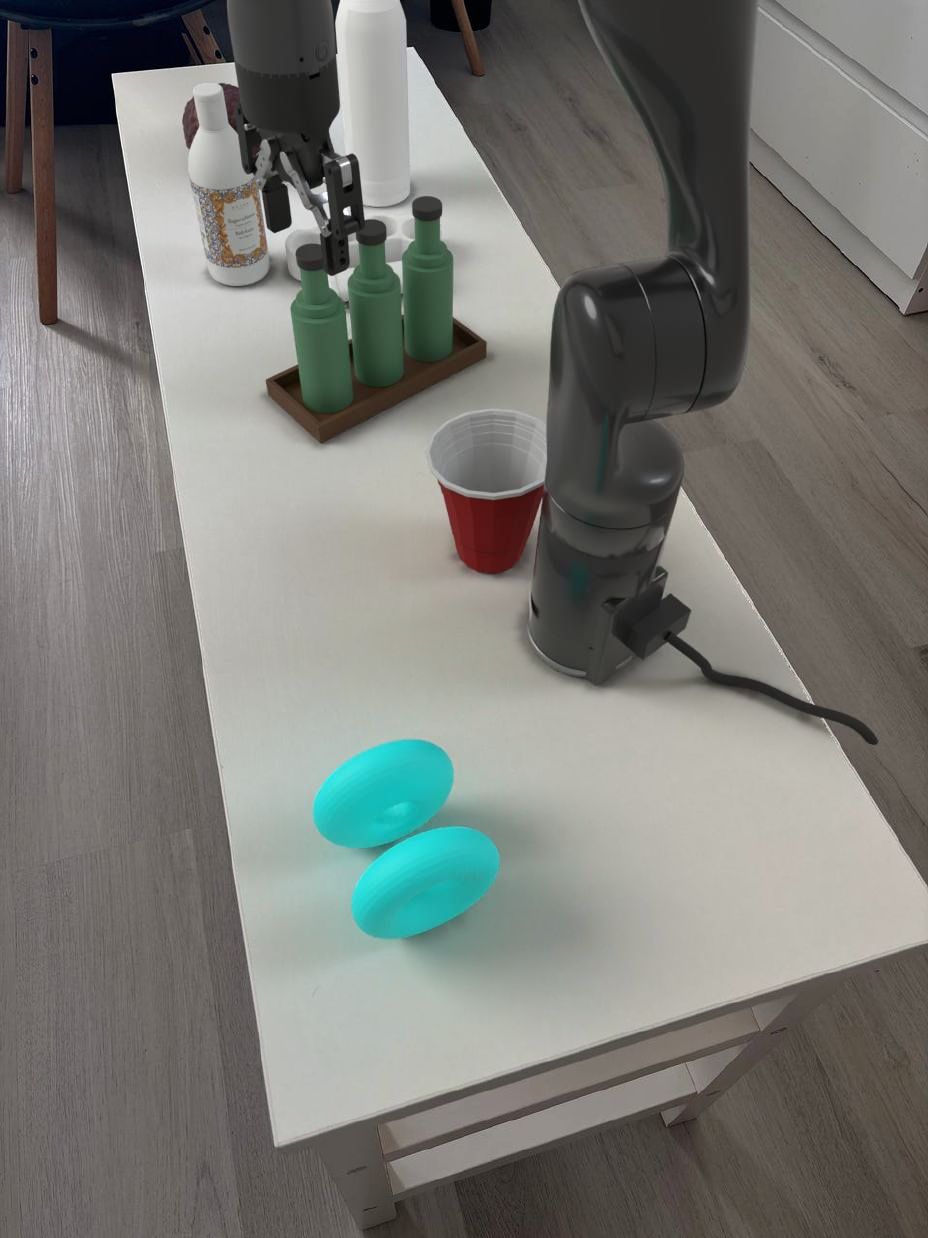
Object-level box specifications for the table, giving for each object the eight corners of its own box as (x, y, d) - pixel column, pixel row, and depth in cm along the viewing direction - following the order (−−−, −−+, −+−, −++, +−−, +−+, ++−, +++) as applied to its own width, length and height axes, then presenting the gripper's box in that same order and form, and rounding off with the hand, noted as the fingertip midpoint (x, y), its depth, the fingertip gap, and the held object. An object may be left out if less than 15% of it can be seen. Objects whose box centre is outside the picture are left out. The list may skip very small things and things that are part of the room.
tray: (486, 357, 103) (487, 341, 101) (320, 443, 94) (318, 427, 93) (431, 316, 107) (431, 300, 106) (267, 395, 98) (265, 379, 97)
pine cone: (169, 134, 131) (192, 57, 126) (241, 166, 135) (266, 92, 131) (175, 162, 117) (202, 76, 113) (255, 197, 122) (283, 115, 117)
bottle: (423, 187, 124) (419, -95, 100) (387, 214, 120) (374, -73, 96) (372, 168, 126) (356, -111, 103) (335, 195, 122) (309, -90, 98)
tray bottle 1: (413, 374, 100) (409, 229, 88) (374, 394, 98) (364, 249, 86) (383, 350, 102) (376, 206, 90) (345, 369, 100) (331, 224, 88)
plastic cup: (487, 487, 91) (492, 383, 82) (574, 549, 86) (590, 447, 77) (400, 546, 86) (395, 444, 77) (488, 616, 82) (494, 516, 72)
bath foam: (225, 295, 109) (189, 111, 93) (199, 264, 112) (160, 82, 96) (281, 276, 111) (255, 94, 95) (254, 247, 115) (224, 66, 99)
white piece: (302, 317, 107) (280, 244, 115) (461, 293, 110) (428, 224, 118) (299, 290, 104) (276, 217, 112) (462, 266, 107) (428, 197, 116)
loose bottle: (363, 399, 98) (351, 254, 85) (321, 420, 96) (303, 275, 83) (333, 375, 100) (318, 229, 87) (293, 394, 98) (271, 249, 85)
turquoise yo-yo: (366, 965, 64) (356, 907, 56) (314, 836, 69) (298, 766, 61) (503, 903, 67) (512, 839, 59) (442, 784, 72) (442, 711, 64)
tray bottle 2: (462, 349, 103) (465, 205, 90) (425, 368, 101) (422, 223, 88) (432, 327, 105) (431, 183, 92) (395, 345, 103) (389, 201, 90)
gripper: (189, 29, 74) (226, 229, 86) (297, 96, 67) (320, 303, 80) (272, 4, 77) (296, 202, 89) (384, 67, 70) (392, 270, 83)
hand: (307, 249), depth 85 cm, fingers open, 8 cm apart
